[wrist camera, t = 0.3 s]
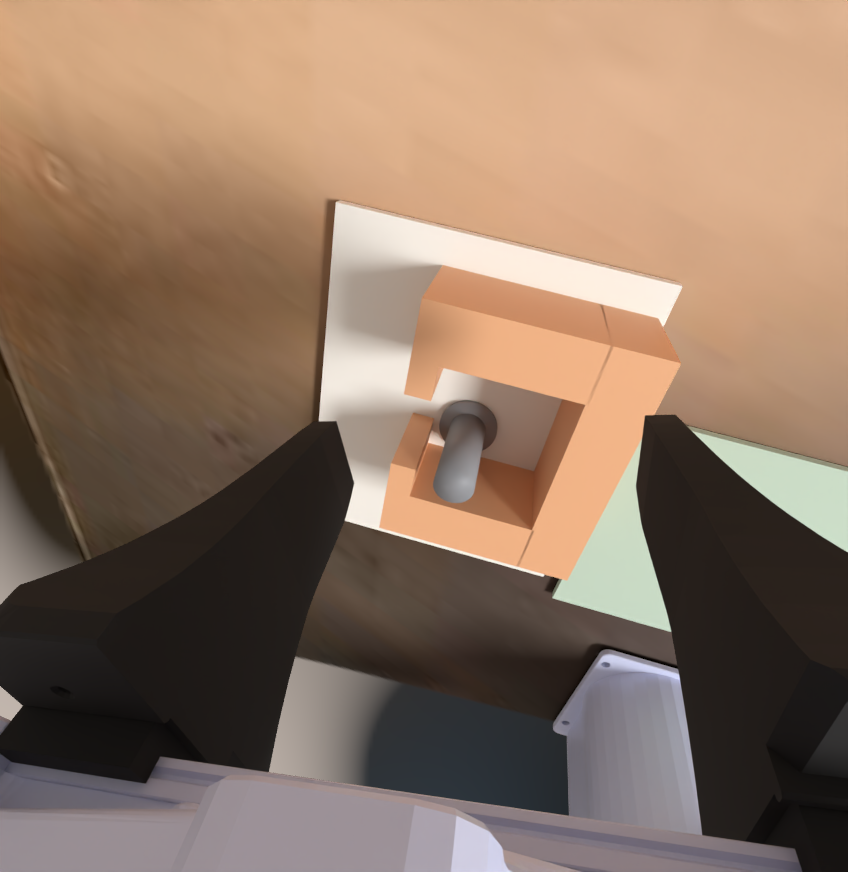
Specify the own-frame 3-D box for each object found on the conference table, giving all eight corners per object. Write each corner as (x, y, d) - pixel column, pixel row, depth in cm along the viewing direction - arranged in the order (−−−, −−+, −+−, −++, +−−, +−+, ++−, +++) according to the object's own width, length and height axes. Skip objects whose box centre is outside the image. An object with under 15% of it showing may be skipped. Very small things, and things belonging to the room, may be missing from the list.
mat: (769, 654, 28) (771, 660, 28) (552, 592, 29) (552, 598, 28) (933, 489, 21) (939, 495, 21) (643, 414, 22) (644, 419, 22)
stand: (543, 569, 28) (542, 650, 24) (315, 505, 29) (276, 572, 25) (679, 282, 19) (716, 333, 15) (340, 200, 20) (285, 226, 16)
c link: (400, 472, 26) (379, 527, 22) (442, 265, 20) (421, 298, 16) (564, 517, 25) (567, 580, 22) (658, 318, 19) (681, 363, 16)
